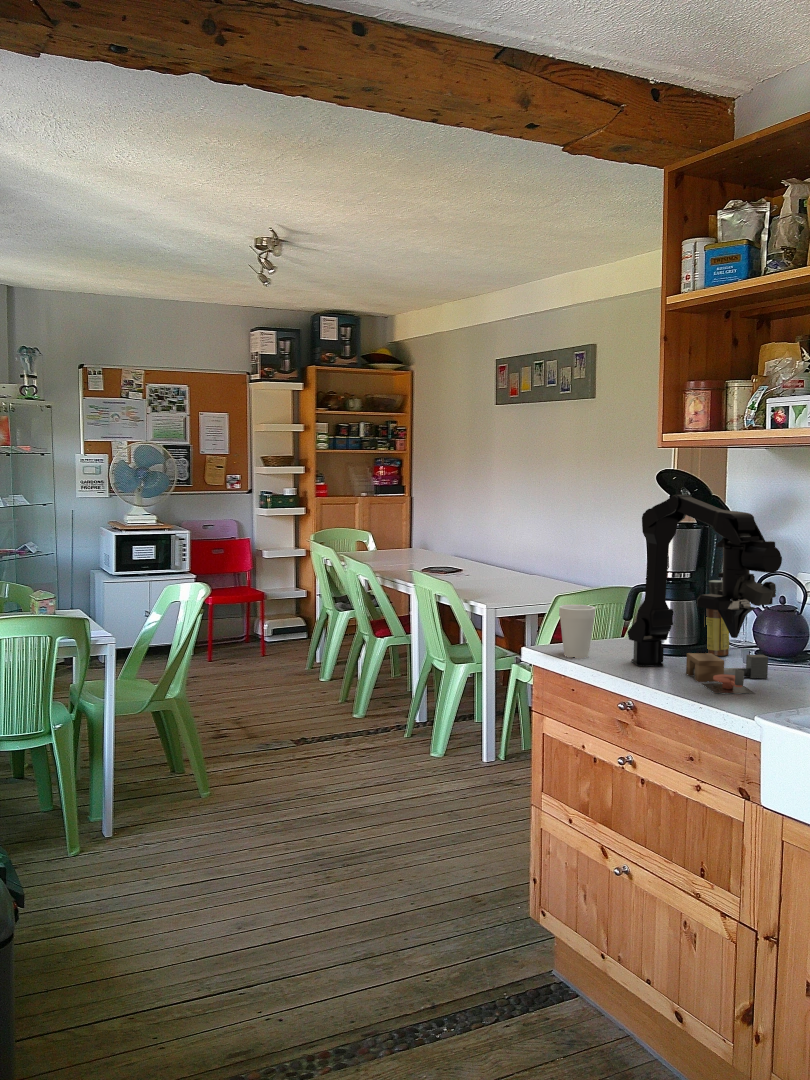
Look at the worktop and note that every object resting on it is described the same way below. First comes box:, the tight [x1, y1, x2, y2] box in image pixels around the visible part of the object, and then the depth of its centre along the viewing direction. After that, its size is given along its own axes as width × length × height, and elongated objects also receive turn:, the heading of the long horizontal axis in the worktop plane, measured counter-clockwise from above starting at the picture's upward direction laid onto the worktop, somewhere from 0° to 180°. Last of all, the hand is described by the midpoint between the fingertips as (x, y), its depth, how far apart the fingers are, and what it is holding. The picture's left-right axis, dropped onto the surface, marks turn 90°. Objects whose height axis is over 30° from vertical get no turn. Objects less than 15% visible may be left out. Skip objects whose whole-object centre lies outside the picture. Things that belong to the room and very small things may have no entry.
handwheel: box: [713, 670, 745, 689], centre depth 209 cm, size 11×6×5 cm, turn 1°
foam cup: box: [558, 604, 596, 659], centre depth 246 cm, size 10×9×13 cm
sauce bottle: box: [706, 579, 730, 657], centre depth 248 cm, size 7×6×20 cm
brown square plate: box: [700, 682, 756, 695], centre depth 211 cm, size 9×9×1 cm
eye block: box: [685, 652, 725, 683], centre depth 222 cm, size 6×9×5 cm
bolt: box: [692, 654, 769, 679], centre depth 222 cm, size 17×3×5 cm, turn 91°
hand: (734, 637), depth 210 cm, fingers closed
